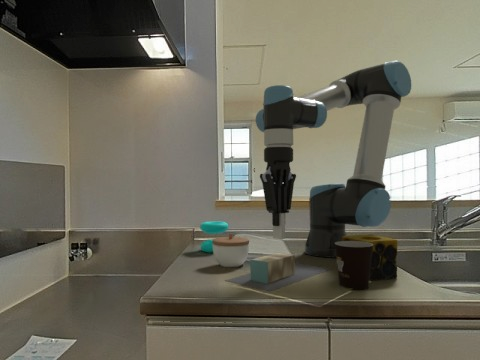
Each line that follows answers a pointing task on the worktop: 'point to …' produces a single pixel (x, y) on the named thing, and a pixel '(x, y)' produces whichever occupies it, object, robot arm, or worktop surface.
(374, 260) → the yellow patterned cube
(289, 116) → the robot arm
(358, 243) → the coffee mug
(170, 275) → the worktop surface
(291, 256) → the birch block
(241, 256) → the lidded jar
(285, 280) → the rubber mat
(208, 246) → the donuts
